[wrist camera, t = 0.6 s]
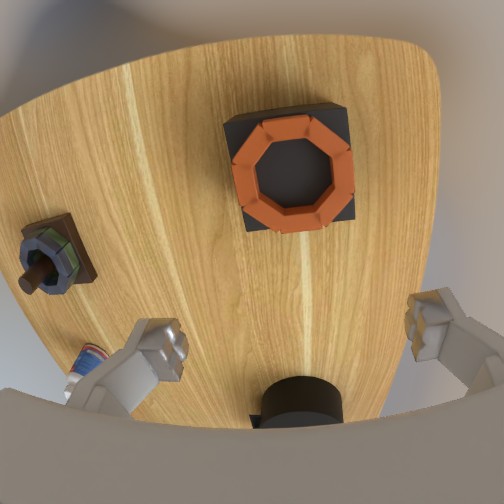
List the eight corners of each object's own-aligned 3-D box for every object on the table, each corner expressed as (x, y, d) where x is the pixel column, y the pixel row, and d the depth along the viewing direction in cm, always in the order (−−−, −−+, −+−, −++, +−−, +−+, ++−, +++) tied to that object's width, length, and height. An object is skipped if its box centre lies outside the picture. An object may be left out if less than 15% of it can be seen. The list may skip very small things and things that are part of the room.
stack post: (27, 225, 33) (-10, 256, 26) (70, 212, 31) (29, 247, 24) (53, 280, 37) (23, 316, 30) (97, 276, 35) (67, 317, 29)
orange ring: (226, 126, 20) (222, 129, 18) (344, 110, 18) (348, 112, 17) (248, 229, 23) (246, 238, 22) (352, 217, 22) (356, 225, 21)
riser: (235, 115, 25) (222, 124, 19) (332, 102, 23) (346, 107, 18) (253, 202, 29) (246, 232, 24) (342, 192, 27) (355, 219, 22)
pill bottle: (83, 338, 43) (57, 383, 35) (112, 352, 44) (89, 400, 36) (83, 355, 46) (61, 397, 38) (110, 368, 47) (89, 412, 38)
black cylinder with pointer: (345, 367, 42) (349, 407, 35) (339, 425, 50) (340, 458, 43) (249, 370, 44) (241, 410, 38) (263, 427, 52) (259, 459, 46)
